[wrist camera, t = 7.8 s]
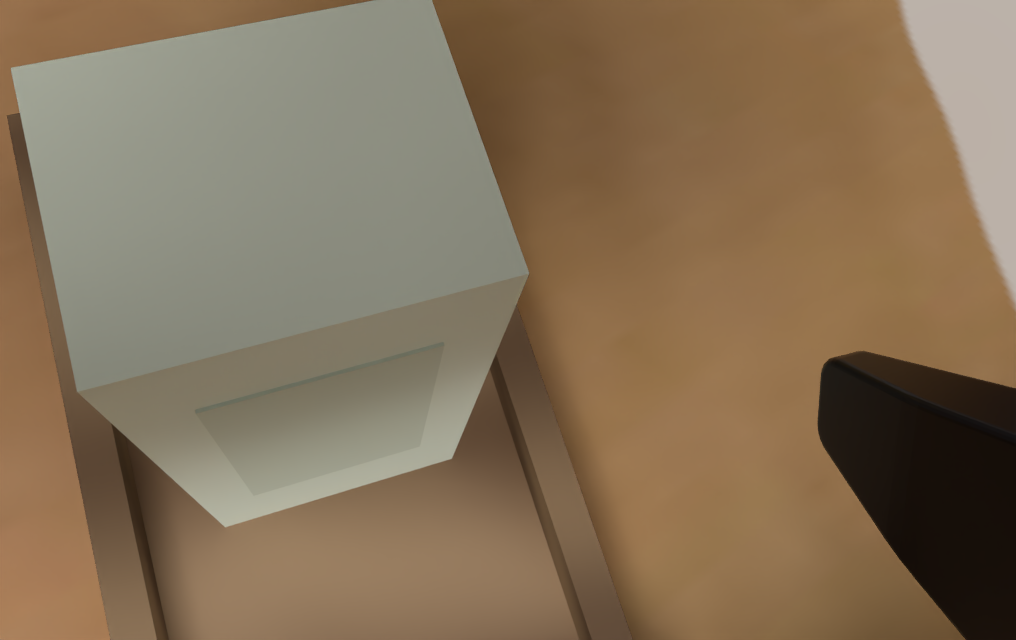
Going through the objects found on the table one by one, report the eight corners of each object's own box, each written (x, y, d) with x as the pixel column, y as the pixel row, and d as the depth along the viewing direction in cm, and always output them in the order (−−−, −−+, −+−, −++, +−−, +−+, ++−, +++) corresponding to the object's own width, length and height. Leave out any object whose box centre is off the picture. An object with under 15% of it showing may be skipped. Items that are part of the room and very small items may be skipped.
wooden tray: (661, 794, 20) (707, 815, 18) (203, 979, 18) (173, 1037, 15) (418, 80, 25) (425, 8, 23) (35, 159, 23) (-10, 90, 20)
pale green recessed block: (452, 461, 21) (530, 277, 11) (225, 529, 20) (77, 397, 10) (400, 294, 22) (427, -13, 12) (182, 350, 21) (10, 64, 11)
